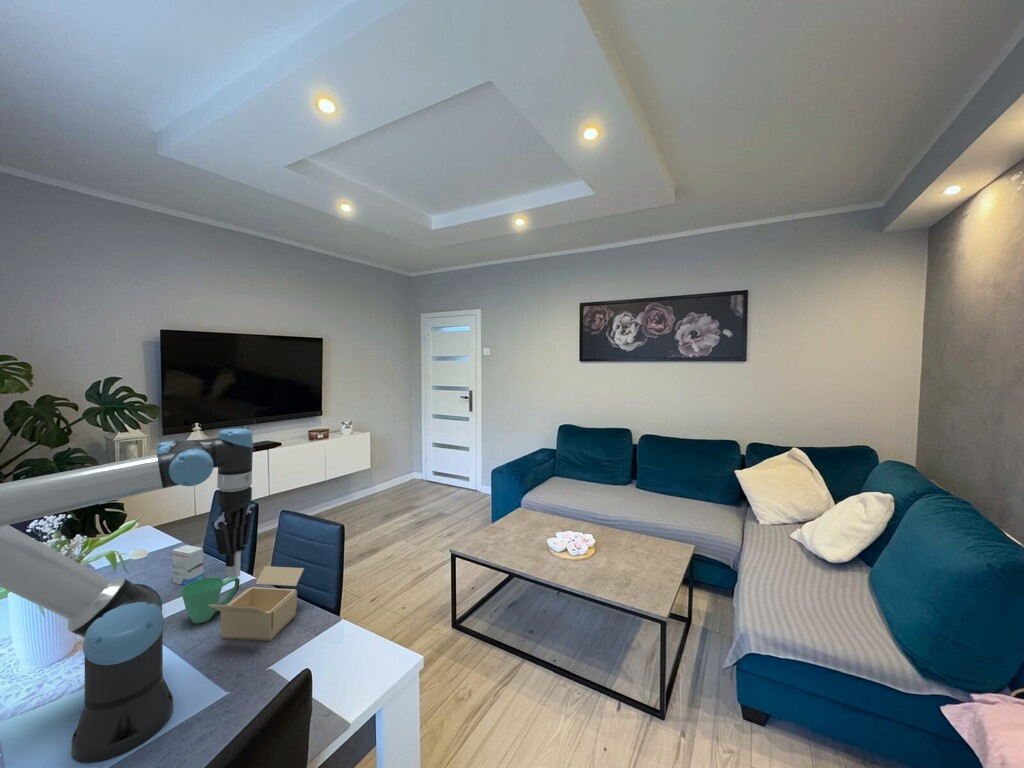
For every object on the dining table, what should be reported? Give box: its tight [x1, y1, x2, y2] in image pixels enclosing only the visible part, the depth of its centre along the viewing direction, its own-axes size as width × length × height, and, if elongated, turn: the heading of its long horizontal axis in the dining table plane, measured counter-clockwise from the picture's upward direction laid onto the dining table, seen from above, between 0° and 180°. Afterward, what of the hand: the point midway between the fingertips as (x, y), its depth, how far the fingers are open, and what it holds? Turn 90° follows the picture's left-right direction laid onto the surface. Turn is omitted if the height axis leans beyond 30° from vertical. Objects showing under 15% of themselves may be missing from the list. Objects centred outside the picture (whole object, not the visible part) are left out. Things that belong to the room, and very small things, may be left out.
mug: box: [181, 576, 241, 624], centre depth 122 cm, size 15×10×10 cm
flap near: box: [209, 604, 266, 614], centre depth 108 cm, size 1×13×6 cm
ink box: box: [171, 544, 205, 587], centre depth 140 cm, size 9×5×12 cm, turn 73°
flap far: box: [255, 565, 305, 587], centre depth 126 cm, size 1×13×6 cm
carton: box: [220, 586, 298, 642], centre depth 117 cm, size 12×15×8 cm
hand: (233, 576), depth 106 cm, fingers closed
